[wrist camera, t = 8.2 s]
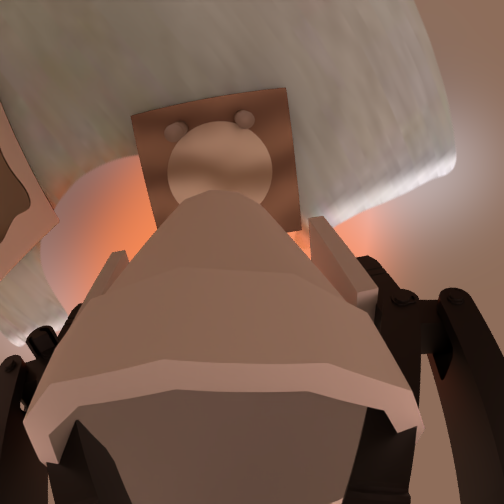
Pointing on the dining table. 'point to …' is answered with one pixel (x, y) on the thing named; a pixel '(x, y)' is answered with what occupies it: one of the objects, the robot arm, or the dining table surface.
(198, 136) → the pin board
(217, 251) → the foam cup
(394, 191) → the dining table surface
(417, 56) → the dining table surface
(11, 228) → the gable box
